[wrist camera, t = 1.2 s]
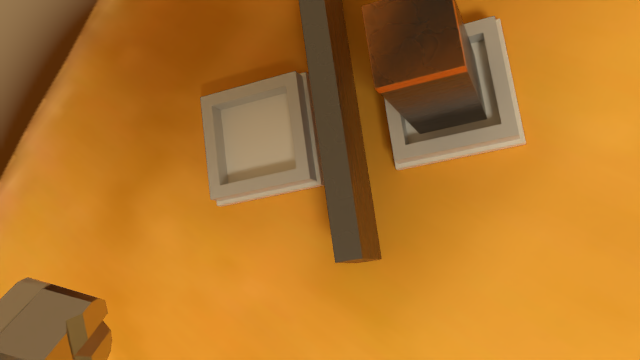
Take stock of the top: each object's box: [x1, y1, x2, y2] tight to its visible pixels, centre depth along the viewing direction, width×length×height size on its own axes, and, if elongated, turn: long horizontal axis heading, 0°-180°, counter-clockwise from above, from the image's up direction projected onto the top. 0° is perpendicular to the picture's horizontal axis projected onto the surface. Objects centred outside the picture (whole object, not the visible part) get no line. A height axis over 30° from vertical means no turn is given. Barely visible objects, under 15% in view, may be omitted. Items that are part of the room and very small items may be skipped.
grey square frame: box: [384, 16, 526, 170], centre depth 35 cm, size 8×8×2 cm
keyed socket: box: [200, 71, 324, 206], centre depth 39 cm, size 8×8×2 cm
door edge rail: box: [299, 0, 381, 263], centre depth 36 cm, size 2×18×4 cm, turn 9°
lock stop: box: [361, 0, 487, 134], centre depth 31 cm, size 4×4×10 cm
